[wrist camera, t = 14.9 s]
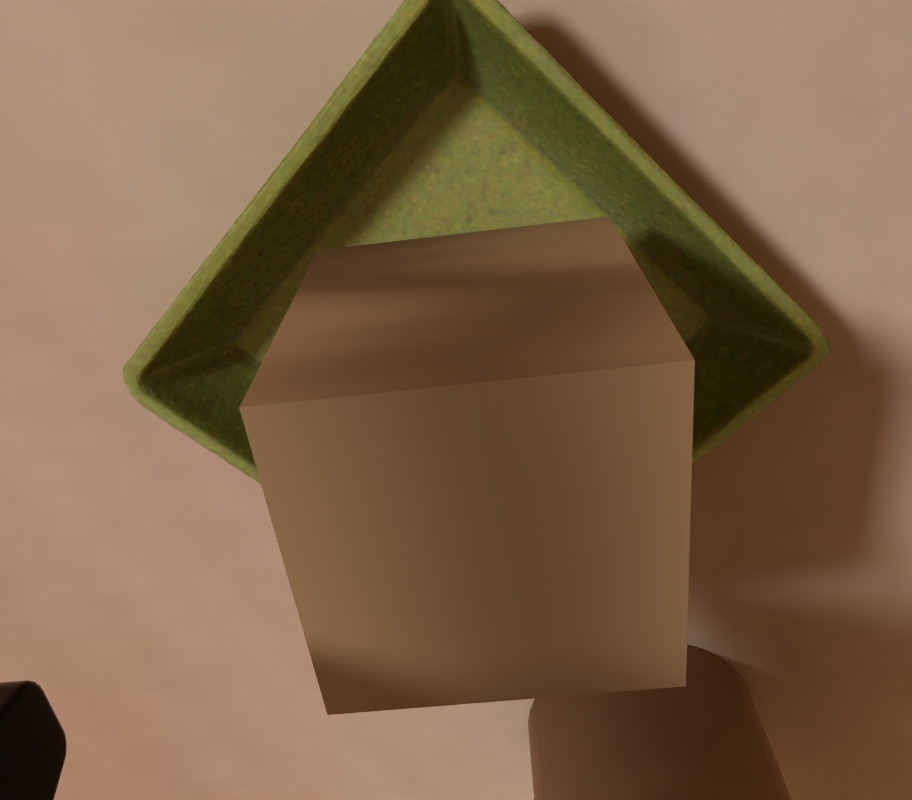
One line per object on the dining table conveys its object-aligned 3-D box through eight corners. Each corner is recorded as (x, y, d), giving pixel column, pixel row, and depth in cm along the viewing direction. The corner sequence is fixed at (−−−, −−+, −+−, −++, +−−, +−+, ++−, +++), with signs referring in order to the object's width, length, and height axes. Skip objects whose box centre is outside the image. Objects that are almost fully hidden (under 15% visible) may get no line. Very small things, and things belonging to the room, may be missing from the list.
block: (367, 487, 14) (327, 715, 10) (318, 249, 12) (238, 408, 8) (615, 463, 14) (686, 686, 10) (608, 216, 12) (695, 360, 8)
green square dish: (481, 569, 18) (484, 637, 16) (148, 336, 15) (107, 387, 13) (795, 302, 15) (842, 349, 13) (447, -53, 12) (445, -55, 10)
